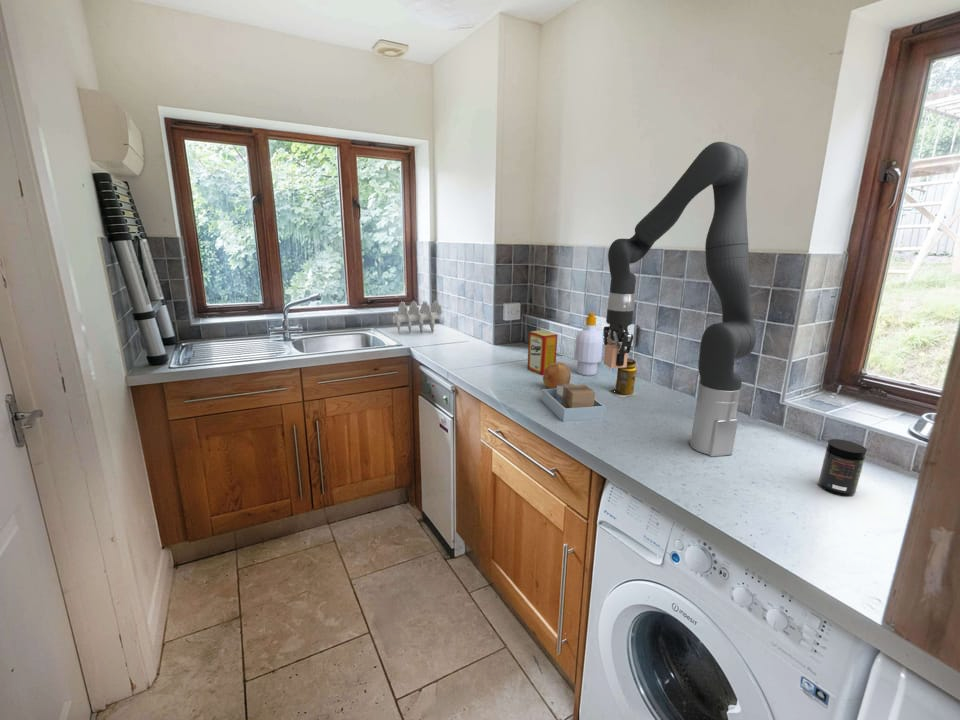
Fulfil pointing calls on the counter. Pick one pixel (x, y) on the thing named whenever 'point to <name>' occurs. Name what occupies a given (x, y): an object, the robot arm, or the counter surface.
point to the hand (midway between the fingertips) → (614, 362)
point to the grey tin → (560, 392)
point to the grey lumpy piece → (417, 314)
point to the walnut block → (577, 396)
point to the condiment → (625, 380)
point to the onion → (556, 375)
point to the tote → (572, 413)
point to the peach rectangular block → (613, 357)
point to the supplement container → (842, 467)
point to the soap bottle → (588, 347)
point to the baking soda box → (541, 350)
